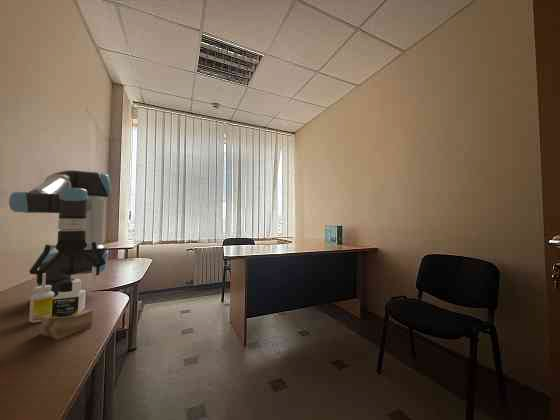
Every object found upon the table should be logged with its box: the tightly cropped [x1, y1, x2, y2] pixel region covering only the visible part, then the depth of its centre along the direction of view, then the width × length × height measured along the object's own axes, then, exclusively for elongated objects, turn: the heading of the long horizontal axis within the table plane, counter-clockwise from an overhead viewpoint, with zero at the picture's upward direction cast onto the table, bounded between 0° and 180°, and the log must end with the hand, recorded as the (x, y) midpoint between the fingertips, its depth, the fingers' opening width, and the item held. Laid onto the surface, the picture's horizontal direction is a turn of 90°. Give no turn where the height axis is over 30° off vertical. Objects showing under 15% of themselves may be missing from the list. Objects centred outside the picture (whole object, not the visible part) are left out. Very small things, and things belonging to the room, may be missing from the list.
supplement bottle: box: [28, 285, 54, 324], centre depth 89 cm, size 7×7×13 cm
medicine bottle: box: [52, 278, 87, 319], centre depth 82 cm, size 7×7×12 cm
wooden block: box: [40, 308, 93, 340], centre depth 81 cm, size 10×10×6 cm
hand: (69, 288), depth 82 cm, fingers open, 13 cm apart
